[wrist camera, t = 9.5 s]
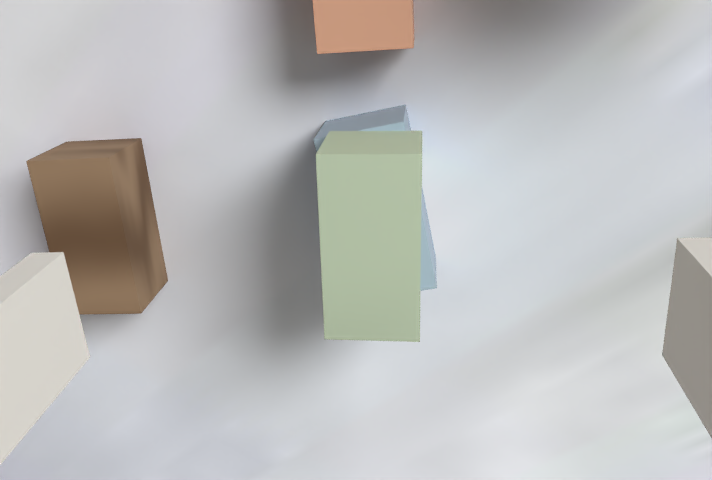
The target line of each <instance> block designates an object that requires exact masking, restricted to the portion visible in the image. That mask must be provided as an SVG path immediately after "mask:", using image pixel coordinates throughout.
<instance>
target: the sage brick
mask: <svg viewBox="0 0 712 480" xmlns="http://www.w3.org/2000/svg"><path fill="white" fill-rule="evenodd" d="M316 171H317V192H318V213H319V234H320V255H321V276H322V297H323V318H324V339H333V340H371V341H409V342H420V276H421V196H422V131H329V133H328V134H327V136H326V138H325V139H324V141H323V143H322V145H321V146H320V148H319V150H318V151H317V153H316Z"/></svg>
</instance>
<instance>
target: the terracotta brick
mask: <svg viewBox="0 0 712 480" xmlns="http://www.w3.org/2000/svg"><path fill="white" fill-rule="evenodd" d="M313 12H314V23H315V35H316V46H317V54H324V53H341V52H357V51H374V50H390V49H407V48H413V47H414V12H413V0H313Z"/></svg>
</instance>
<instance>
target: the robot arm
mask: <svg viewBox="0 0 712 480" xmlns="http://www.w3.org/2000/svg"><path fill="white" fill-rule="evenodd" d="M662 356H663V357H664V359H665V361H666V362H667V364H668V366H669V367H670V369H671V371H672V372H673V374H674V376H675V377H676V379H677V381H678V382H679V384H680V386H681V387H682V389H683V391H684V393H685V394H686V396H687V398H688V399H689V401H690V403H691V404H692V406H693V408H694V409H695V411H696V413H697V414H698V416H699V418H700V419H701V421H702V423H703V424H704V426H705V428H706V429H707V431H708V433H709V435H710V436H711V438H712V237H711V238H677V244H676V252H675V260H674V267H673V275H672V283H671V290H670V298H669V306H668V314H667V321H666V329H665V337H664V344H663V352H662ZM89 358H90V354H89V350H88V347H87V343H86V339H85V335H84V331H83V327H82V323H81V319H80V315H79V311H78V307H77V303H76V299H75V296H74V292H73V288H72V284H71V280H70V276H69V272H68V268H67V264H66V260H65V256H64V252H47V253H30V254H29V255H28V256H26V257H25V258H24V259H22V260H21V261H20V262H19V263H17V264H16V265H15V266H13V267H12V268H11V269H9V270H8V271H7V272H5V273H4V274H3V275H1V276H0V465H1V464H2V463H3V461H4V460H5V459H6V458H7V457H8V455H9V454H10V453H11V452H12V451H13V449H14V448H15V447H16V446H17V445H18V443H19V442H20V441H21V440H22V439H23V437H24V436H25V435H26V434H27V433H28V431H29V430H30V429H31V428H32V427H33V425H34V424H35V423H36V422H37V421H38V419H39V418H40V417H41V416H42V415H43V413H44V412H45V411H46V410H47V409H48V407H49V406H50V405H51V404H52V403H53V401H54V400H55V399H56V398H57V397H58V395H59V394H60V393H61V392H62V391H63V389H64V388H65V387H66V386H67V385H68V383H69V382H70V381H71V380H72V379H73V377H74V376H75V375H76V374H77V373H78V371H79V370H80V369H81V368H82V367H83V365H84V364H85V363H86V362H87V361H88V359H89Z"/></svg>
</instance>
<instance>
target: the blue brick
mask: <svg viewBox="0 0 712 480" xmlns="http://www.w3.org/2000/svg"><path fill="white" fill-rule="evenodd" d="M329 131H411V128H410V123H409V118H408V113H407V108H406V105H402V106H397V107H392V108H387V109H382V110H378V111H373V112H368V113H363V114H358V115H353V116H348V117H344V118H339V119H334V120H329V121H325V123H324V124H323V126H322V127H321V129H320V131H319V132H318V134H317V135H316V137H315V138H314V144H315V148H316V152H317V151H318V150H319V148H320V146H321V145H322V143H323V141H324V139H325V138H326V136H327V134H328V133H329ZM434 288H437V282H436V258H435V251H434V246H433V241H432V235H431V230H430V225H429V220H428V215H427V210H426V205H425V200H424V195H423V190H422V196H421V276H420V291H422V290H428V289H434Z"/></svg>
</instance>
